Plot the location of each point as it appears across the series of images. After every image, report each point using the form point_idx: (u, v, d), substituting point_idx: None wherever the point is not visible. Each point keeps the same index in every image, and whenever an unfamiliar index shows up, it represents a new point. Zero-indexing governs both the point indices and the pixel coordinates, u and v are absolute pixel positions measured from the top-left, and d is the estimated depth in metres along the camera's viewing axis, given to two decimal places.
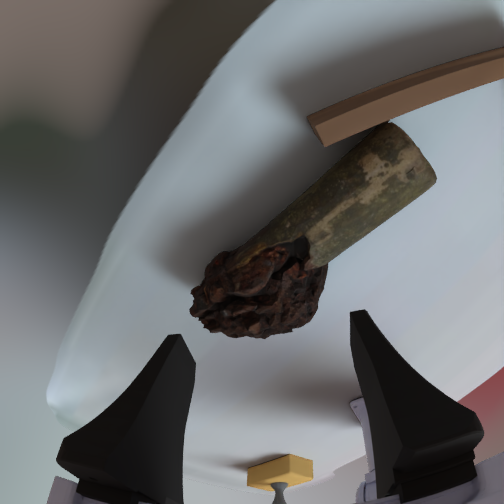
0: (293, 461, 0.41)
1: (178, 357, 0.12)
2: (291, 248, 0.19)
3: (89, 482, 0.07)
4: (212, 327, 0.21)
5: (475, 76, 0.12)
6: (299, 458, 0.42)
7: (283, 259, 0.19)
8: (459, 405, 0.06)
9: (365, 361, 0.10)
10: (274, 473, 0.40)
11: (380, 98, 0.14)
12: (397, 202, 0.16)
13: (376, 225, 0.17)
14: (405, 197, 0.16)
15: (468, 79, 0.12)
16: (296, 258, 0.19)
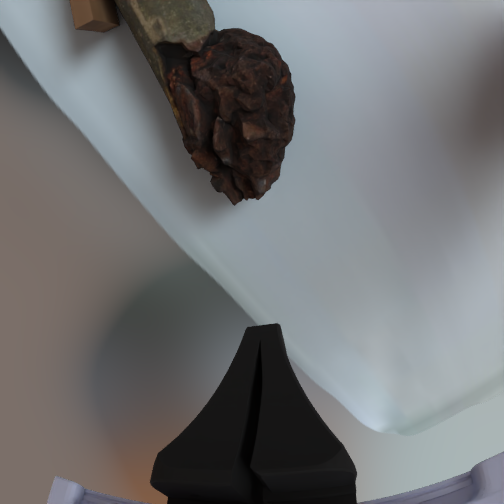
0: None
1: None
2: (175, 61, 0.13)
3: (183, 499, 0.07)
4: (254, 187, 0.16)
5: None
6: None
7: (180, 72, 0.13)
8: (330, 436, 0.07)
9: None
10: None
11: None
12: None
13: None
14: None
15: None
16: (191, 58, 0.13)
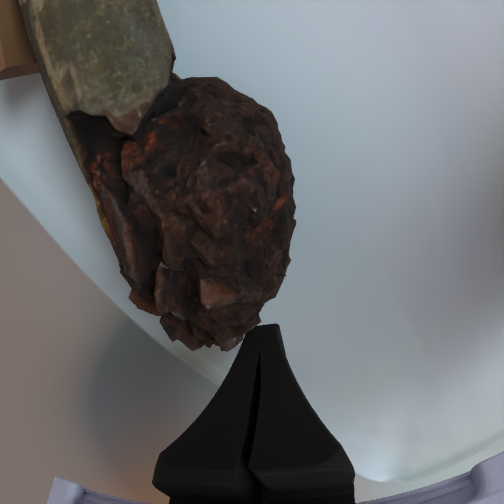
0: None
1: None
2: (100, 143, 0.08)
3: (185, 500, 0.07)
4: None
5: None
6: None
7: (106, 165, 0.08)
8: (328, 436, 0.07)
9: None
10: None
11: None
12: None
13: None
14: None
15: None
16: (126, 139, 0.08)
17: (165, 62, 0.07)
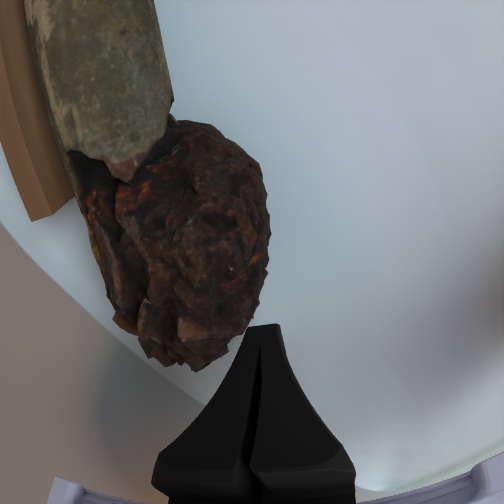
0: None
1: None
2: (97, 180, 0.09)
3: (184, 500, 0.07)
4: None
5: None
6: None
7: (101, 204, 0.09)
8: (329, 436, 0.07)
9: None
10: None
11: None
12: None
13: (112, 13, 0.06)
14: None
15: None
16: (121, 181, 0.09)
17: (163, 111, 0.08)
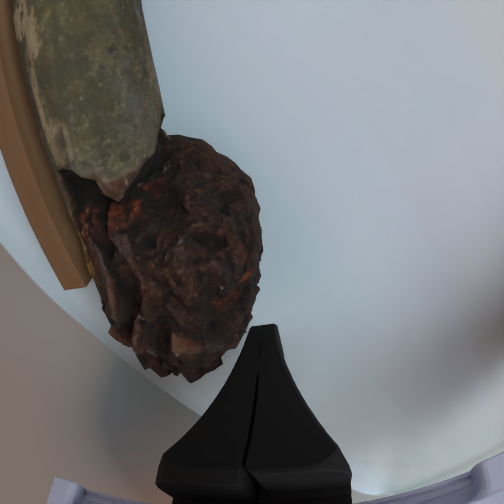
0: None
1: None
2: (89, 197, 0.09)
3: (188, 500, 0.07)
4: None
5: None
6: None
7: (94, 221, 0.09)
8: (325, 437, 0.07)
9: None
10: None
11: (24, 206, 0.09)
12: None
13: (99, 30, 0.06)
14: None
15: None
16: (113, 198, 0.09)
17: (153, 128, 0.08)
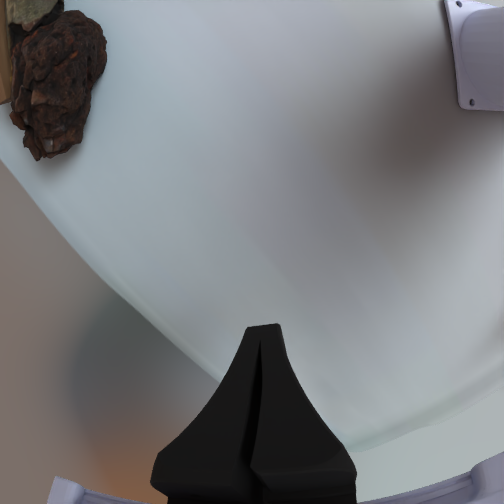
0: None
1: None
2: (19, 38, 0.12)
3: (183, 499, 0.07)
4: None
5: None
6: None
7: (17, 47, 0.12)
8: (330, 436, 0.07)
9: None
10: None
11: None
12: None
13: None
14: None
15: None
16: (28, 36, 0.12)
17: (52, 2, 0.11)
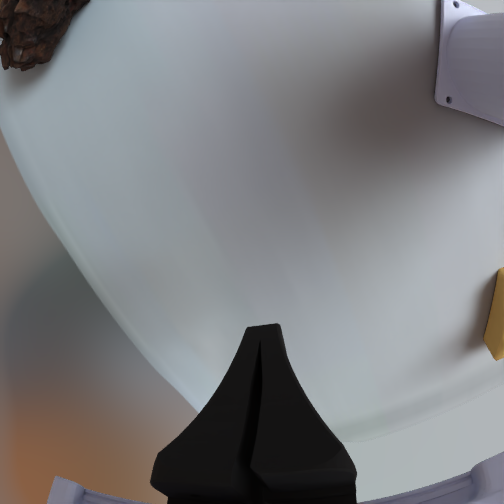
0: None
1: None
2: None
3: (183, 499, 0.07)
4: None
5: None
6: None
7: None
8: (330, 436, 0.07)
9: None
10: None
11: None
12: None
13: None
14: None
15: None
16: None
17: None
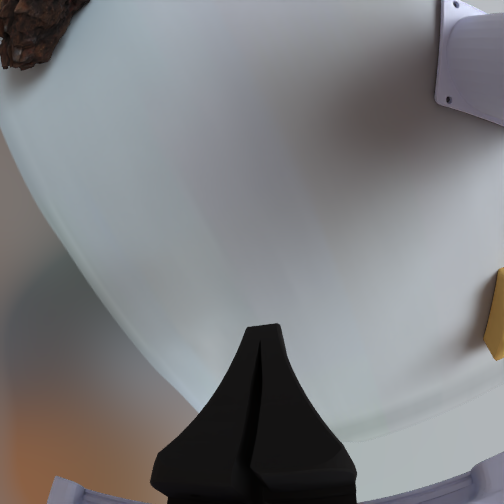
0: None
1: None
2: None
3: (183, 499, 0.07)
4: None
5: None
6: None
7: None
8: (330, 436, 0.07)
9: None
10: None
11: None
12: None
13: None
14: None
15: None
16: None
17: None
